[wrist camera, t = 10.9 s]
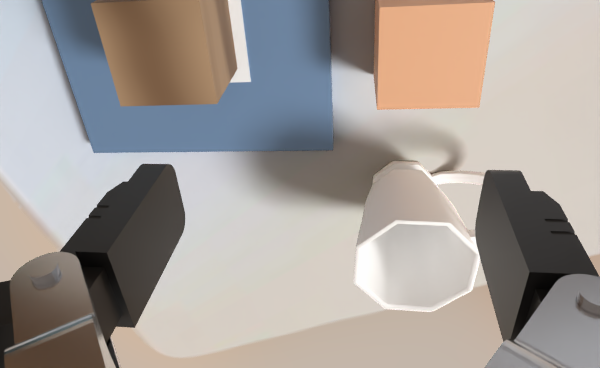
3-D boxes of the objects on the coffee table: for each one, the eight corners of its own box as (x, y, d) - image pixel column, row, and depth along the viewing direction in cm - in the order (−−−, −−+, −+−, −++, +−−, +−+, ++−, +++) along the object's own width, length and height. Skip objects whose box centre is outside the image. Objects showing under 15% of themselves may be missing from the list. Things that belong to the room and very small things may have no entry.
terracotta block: (471, -20, 25) (495, 2, 21) (460, 71, 28) (479, 107, 24) (375, -15, 26) (379, 7, 22) (373, 74, 28) (377, 109, 24)
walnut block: (224, -24, 25) (198, -3, 21) (237, 68, 28) (217, 103, 24) (133, -19, 26) (90, 3, 21) (154, 71, 28) (120, 106, 24)
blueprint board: (324, -160, 22) (323, -161, 21) (333, 142, 31) (332, 151, 30) (7, -134, 24) (-6, -134, 23) (100, 145, 33) (93, 153, 32)
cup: (335, 160, 32) (330, 238, 25) (490, 111, 29) (532, 185, 22) (369, 237, 35) (373, 324, 28) (511, 201, 32) (552, 288, 26)
